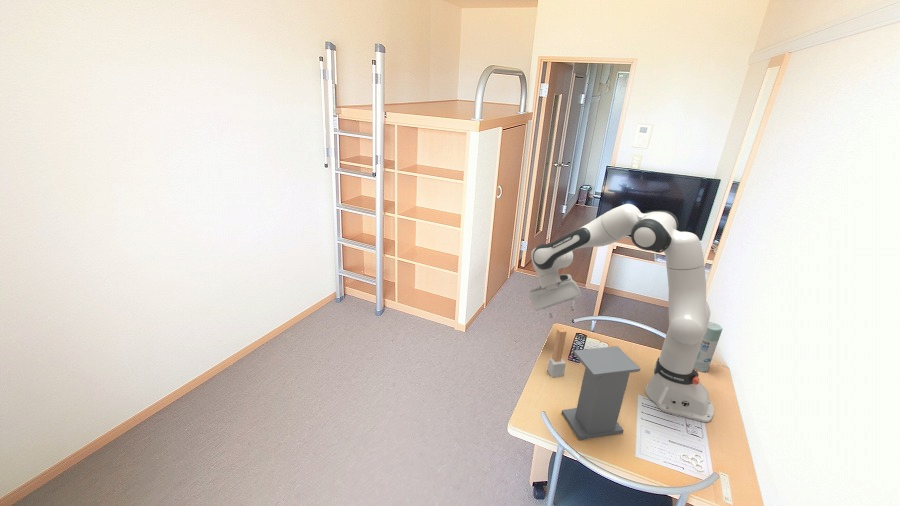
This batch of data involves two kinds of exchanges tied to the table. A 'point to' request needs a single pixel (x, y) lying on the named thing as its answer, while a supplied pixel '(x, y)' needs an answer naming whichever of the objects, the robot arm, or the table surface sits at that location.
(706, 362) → the spray paint can
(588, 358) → the stand
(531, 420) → the table surface
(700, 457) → the fidget spinner
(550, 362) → the bar
